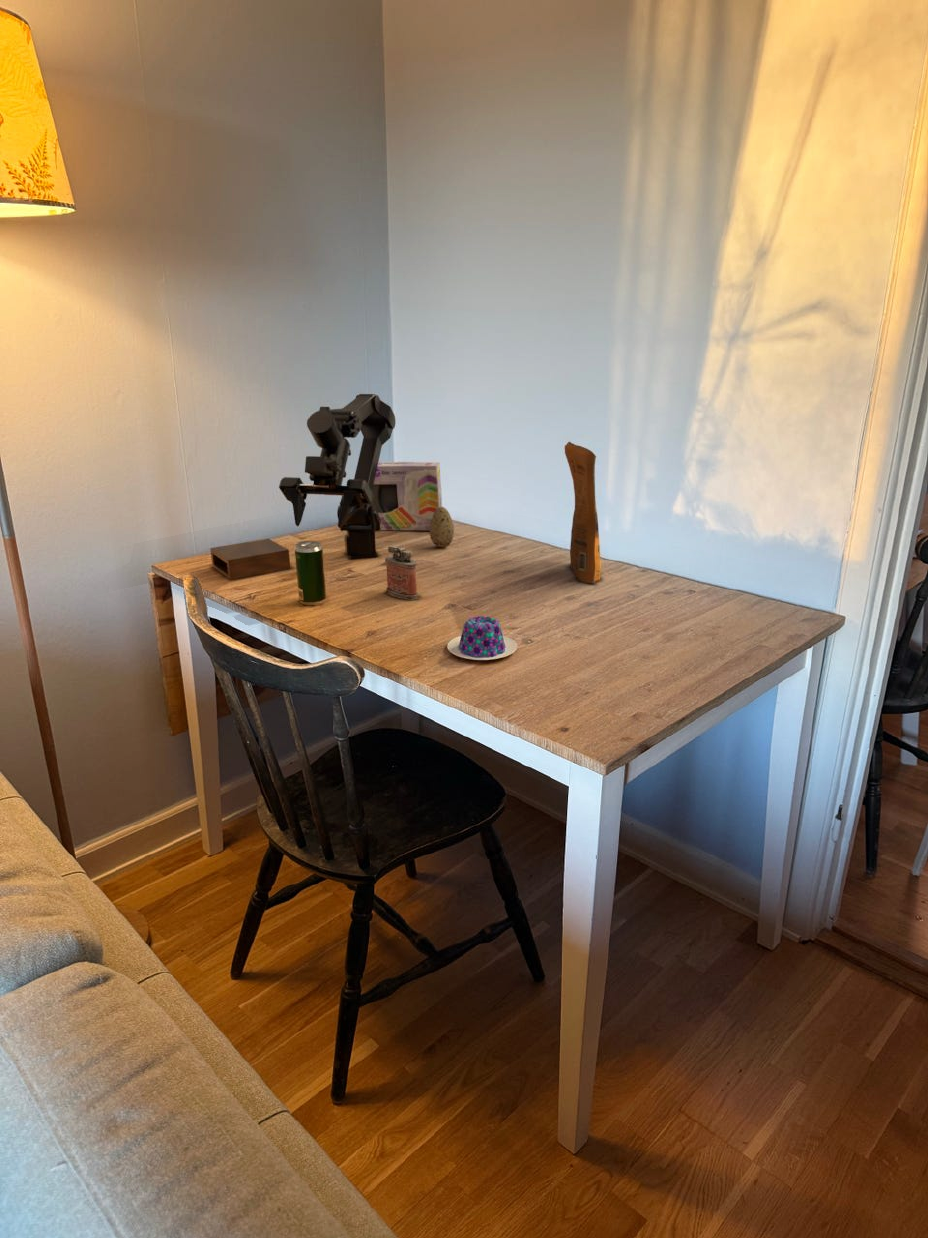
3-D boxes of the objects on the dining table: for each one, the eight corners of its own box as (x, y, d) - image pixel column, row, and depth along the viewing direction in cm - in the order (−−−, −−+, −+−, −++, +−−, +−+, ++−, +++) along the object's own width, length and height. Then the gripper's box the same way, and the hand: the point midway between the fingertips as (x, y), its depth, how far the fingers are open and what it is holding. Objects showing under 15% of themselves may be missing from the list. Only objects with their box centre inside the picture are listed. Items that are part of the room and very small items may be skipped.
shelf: (270, 556, 196) (268, 538, 195) (290, 568, 187) (288, 549, 185) (212, 567, 189) (210, 548, 187) (230, 580, 180) (228, 560, 178)
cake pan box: (369, 530, 219) (365, 463, 213) (374, 525, 223) (370, 460, 217) (440, 532, 216) (438, 465, 210) (443, 528, 220) (442, 461, 214)
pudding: (464, 668, 134) (463, 639, 132) (436, 643, 144) (436, 615, 143) (529, 656, 139) (530, 627, 137) (498, 632, 149) (498, 605, 147)
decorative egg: (425, 547, 202) (424, 507, 199) (439, 542, 207) (438, 503, 203) (444, 551, 199) (444, 510, 195) (459, 545, 204) (458, 506, 200)
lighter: (421, 597, 168) (420, 549, 164) (409, 601, 165) (408, 553, 162) (395, 588, 173) (393, 542, 169) (382, 592, 171) (380, 545, 167)
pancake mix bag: (574, 587, 173) (579, 452, 163) (559, 561, 191) (563, 438, 181) (606, 586, 173) (613, 451, 163) (588, 560, 191) (594, 437, 181)
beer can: (309, 607, 162) (304, 549, 158) (294, 601, 166) (288, 543, 162) (331, 601, 166) (327, 543, 162) (316, 595, 169) (311, 538, 165)
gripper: (277, 438, 169) (260, 504, 163) (364, 440, 165) (350, 507, 160) (296, 468, 179) (280, 531, 173) (378, 471, 176) (365, 535, 170)
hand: (317, 526), depth 169 cm, fingers open, 9 cm apart
